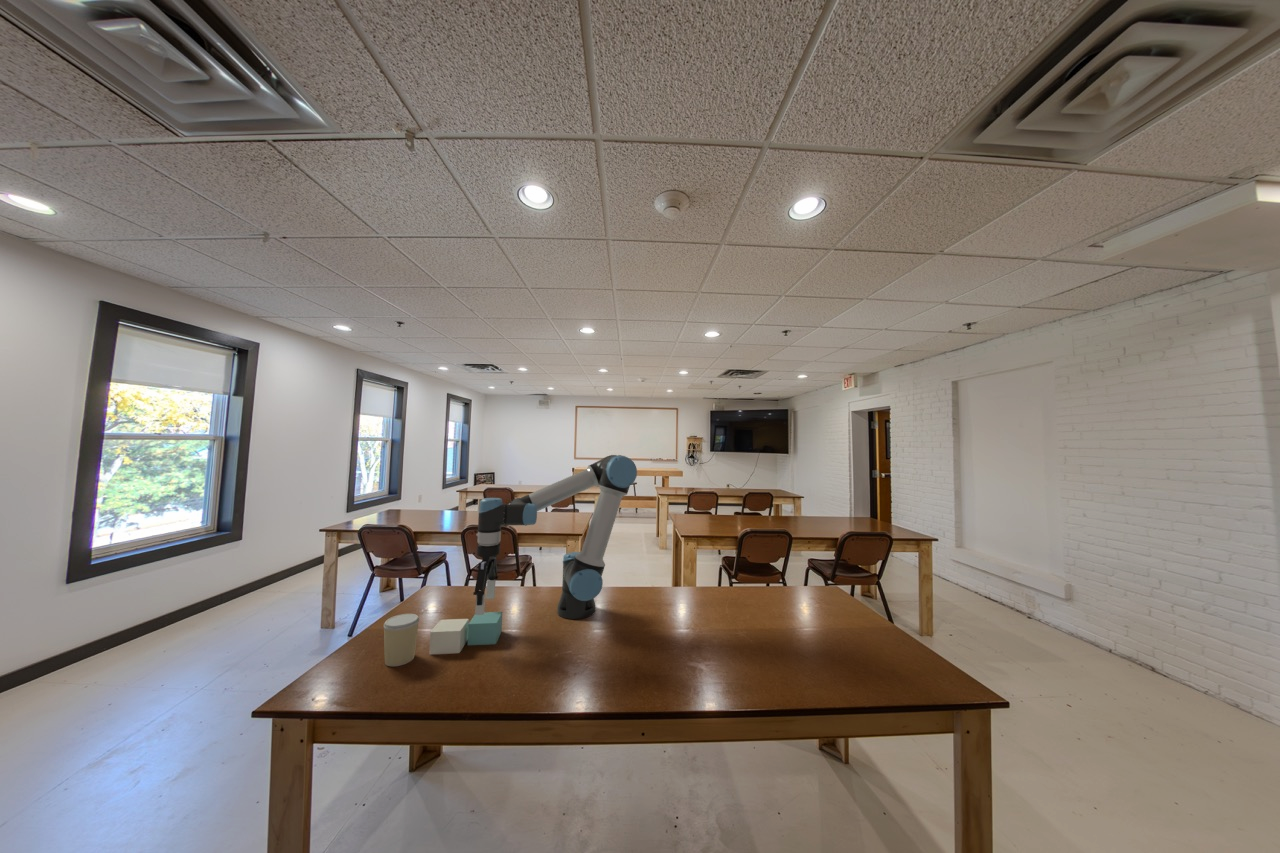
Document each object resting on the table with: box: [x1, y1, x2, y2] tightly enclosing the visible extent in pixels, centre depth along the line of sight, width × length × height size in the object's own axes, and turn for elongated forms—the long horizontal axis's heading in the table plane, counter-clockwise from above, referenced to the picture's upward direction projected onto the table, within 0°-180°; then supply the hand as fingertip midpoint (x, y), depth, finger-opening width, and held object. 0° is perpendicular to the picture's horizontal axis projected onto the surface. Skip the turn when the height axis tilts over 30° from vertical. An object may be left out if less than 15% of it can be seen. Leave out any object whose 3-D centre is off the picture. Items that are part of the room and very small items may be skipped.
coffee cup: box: [383, 613, 420, 667], centre depth 121 cm, size 9×9×12 cm
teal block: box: [467, 611, 503, 646], centre depth 135 cm, size 9×9×7 cm
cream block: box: [428, 618, 470, 655], centre depth 129 cm, size 9×9×7 cm
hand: (485, 606), depth 136 cm, fingers open, 13 cm apart
